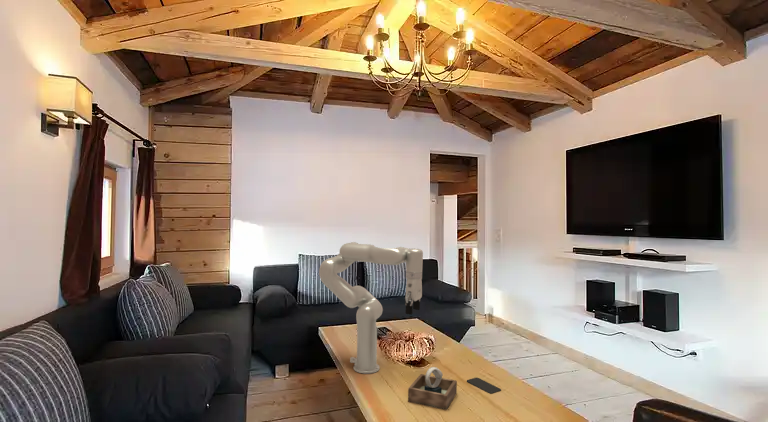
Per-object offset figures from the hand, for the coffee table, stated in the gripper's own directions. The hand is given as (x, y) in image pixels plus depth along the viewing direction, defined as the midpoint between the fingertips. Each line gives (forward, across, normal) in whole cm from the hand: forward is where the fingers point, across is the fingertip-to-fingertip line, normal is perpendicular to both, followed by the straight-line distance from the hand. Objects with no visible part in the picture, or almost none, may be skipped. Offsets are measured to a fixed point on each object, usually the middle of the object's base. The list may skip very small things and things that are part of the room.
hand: (412, 311), depth 194 cm
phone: (+30, +4, -33) cm, 45 cm away
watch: (+29, -16, -16) cm, 37 cm away
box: (+30, -17, -17) cm, 38 cm away
